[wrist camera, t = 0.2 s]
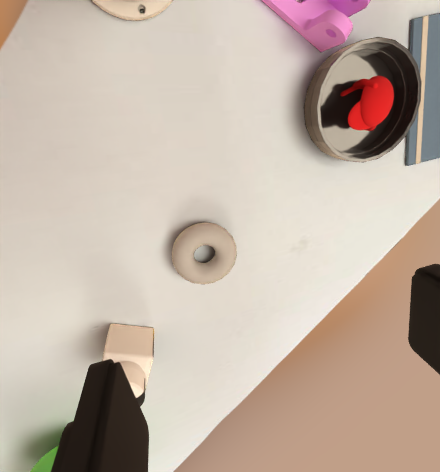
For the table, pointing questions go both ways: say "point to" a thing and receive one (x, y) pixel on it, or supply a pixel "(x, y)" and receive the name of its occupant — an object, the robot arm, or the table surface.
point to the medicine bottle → (132, 354)
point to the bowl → (338, 107)
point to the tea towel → (426, 90)
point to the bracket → (319, 19)
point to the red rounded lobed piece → (370, 103)
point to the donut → (195, 239)
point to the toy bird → (45, 462)
